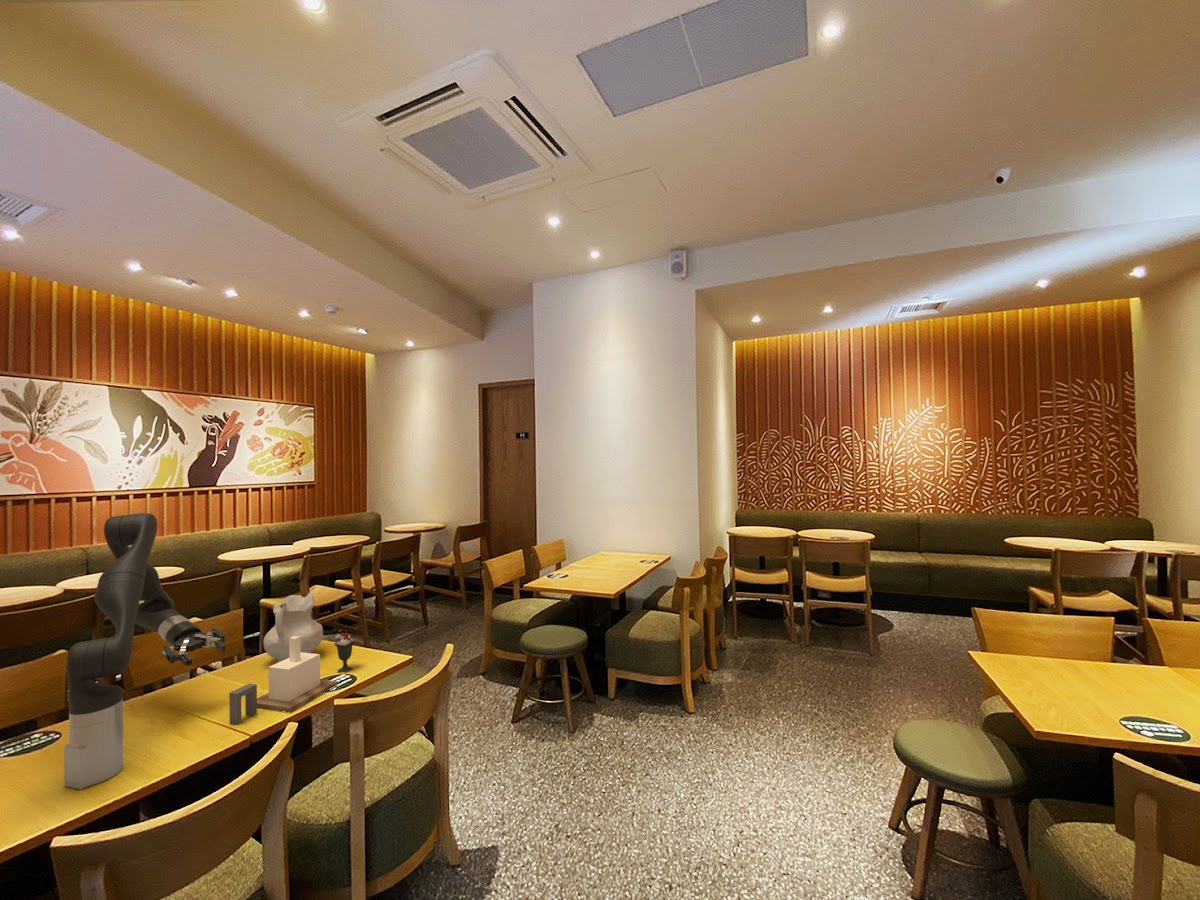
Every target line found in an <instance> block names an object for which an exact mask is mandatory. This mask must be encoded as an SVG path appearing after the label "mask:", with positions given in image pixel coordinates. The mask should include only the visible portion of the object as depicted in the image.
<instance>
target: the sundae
mask: <svg viewBox="0 0 1200 900" xmlns="http://www.w3.org/2000/svg"><path fill="white" fill-rule="evenodd" d="M355 642H356V640H355V639H354V638H352V637H351V635H350V634H349V633H348V630H347V629H346V630H345V632H344V633H343V634H342V635H341V636H340V638H339V640H338V641H335V643H334V644H333V645H334V647H336V649H337V656H338V659H339V660H340V661H341V662H342V667H340V668H339V669H337V671H338V672H337V673H339V672H345V673H348V672H347V671H349V672H351V671H352V670H353V669H354V667H353V666H348V659H350V658H351V656H352V653H353V652H352V650H353V645H354V643H355ZM350 670H351V671H350Z"/></svg>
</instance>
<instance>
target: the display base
mask: <svg viewBox="0 0 1200 900" xmlns="http://www.w3.org/2000/svg"><path fill="white" fill-rule="evenodd" d="M335 685H337V686H338V681H336V680H330V679H329V680H328V679H321V678H320V685H318V686H316V687H314V688H312V689H311V690H309V691H307V692H305V693H303V694H302V695H300V696H298V697H296V698H294V699H293V700H291V701H289V702H288V701H281V700H274V699H269V692H267V693H265V694H263V695H261V696H259V697H257V709H261V708H262V710H268V711H274V710H278V711H277V712H281V711H285V712H284V713H288V712H290V713H289V714H291V713H293V712H295V711H297V710H298V709H300V708H302V707H303V706H305V705H307V704H308V703H311V702H312V701H313V699H314V700H315V699H317V698H318V696H319V697H321V696H322V695H324V694H325V693H324V692H326V691H327V690H329V689H330V688H332V687H334V686H335ZM334 688H335V687H334ZM332 689H333V688H332ZM329 691H330V690H329ZM327 692H328V691H327ZM327 692H326V693H327ZM323 693H324V694H323ZM321 694H322V695H321ZM316 697H317V698H316ZM294 710H295V711H294Z"/></svg>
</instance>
